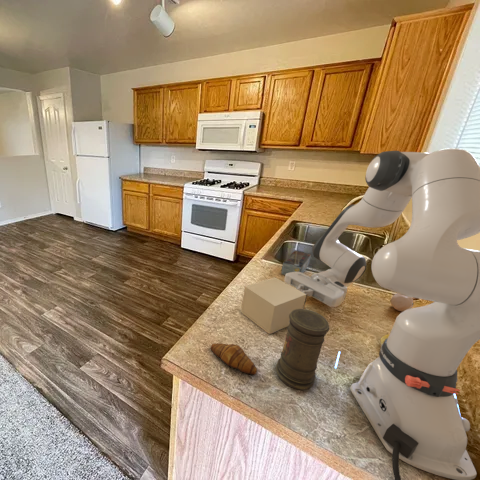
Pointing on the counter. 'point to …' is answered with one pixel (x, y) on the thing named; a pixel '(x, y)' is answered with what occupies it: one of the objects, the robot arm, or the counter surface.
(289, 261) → the translucent blue-gray box
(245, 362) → the croissant
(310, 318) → the container
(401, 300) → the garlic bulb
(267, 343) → the counter surface
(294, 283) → the robot arm
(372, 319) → the counter surface
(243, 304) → the beige rectangular block
